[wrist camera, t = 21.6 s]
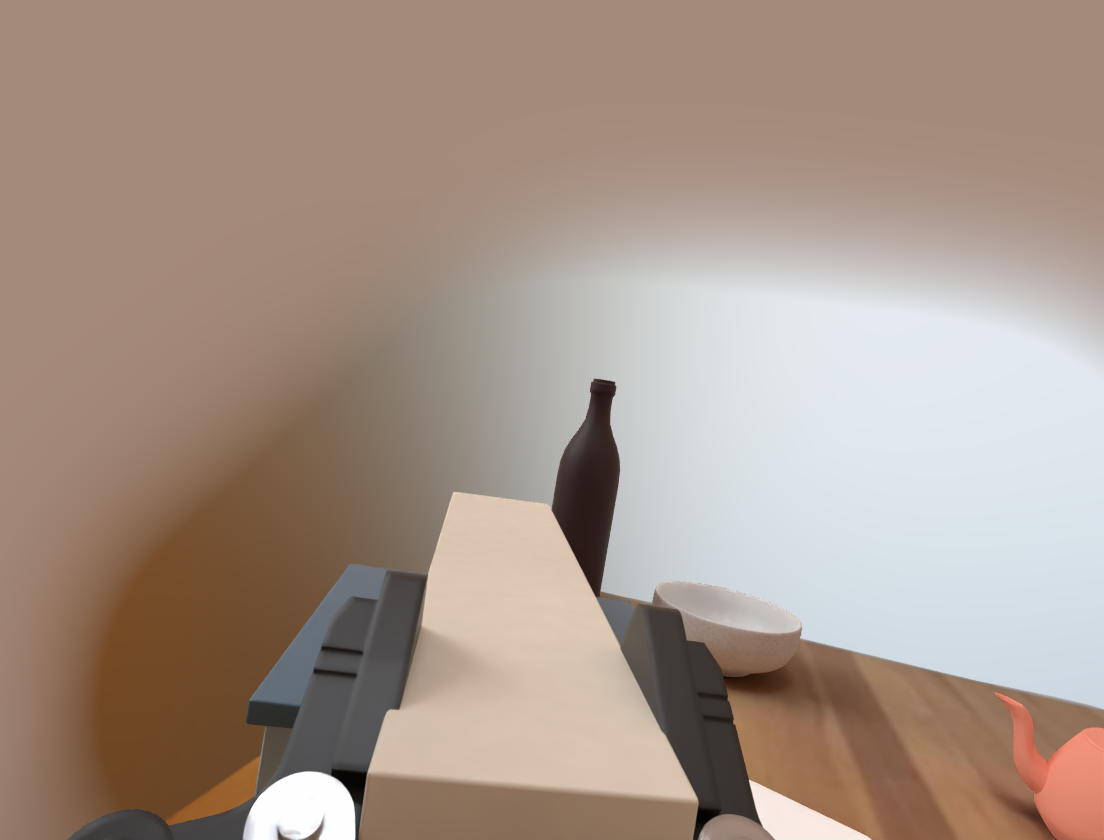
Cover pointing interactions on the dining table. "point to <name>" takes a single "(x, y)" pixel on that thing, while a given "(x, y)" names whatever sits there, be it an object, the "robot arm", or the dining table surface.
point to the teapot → (1063, 778)
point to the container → (293, 670)
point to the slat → (519, 702)
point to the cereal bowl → (733, 626)
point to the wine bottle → (589, 486)
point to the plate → (796, 819)
